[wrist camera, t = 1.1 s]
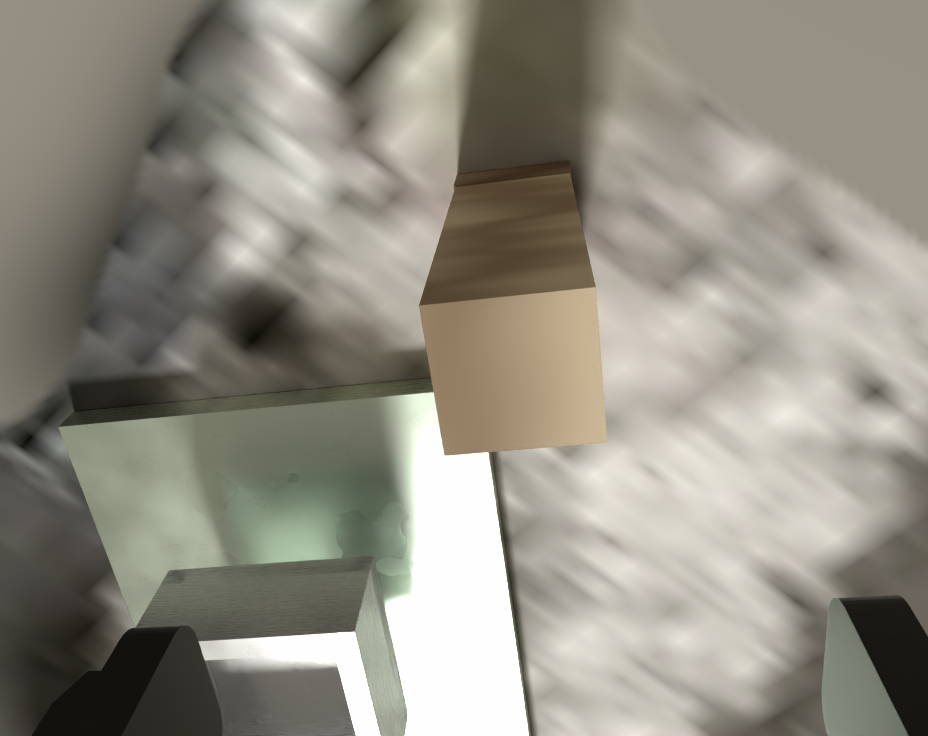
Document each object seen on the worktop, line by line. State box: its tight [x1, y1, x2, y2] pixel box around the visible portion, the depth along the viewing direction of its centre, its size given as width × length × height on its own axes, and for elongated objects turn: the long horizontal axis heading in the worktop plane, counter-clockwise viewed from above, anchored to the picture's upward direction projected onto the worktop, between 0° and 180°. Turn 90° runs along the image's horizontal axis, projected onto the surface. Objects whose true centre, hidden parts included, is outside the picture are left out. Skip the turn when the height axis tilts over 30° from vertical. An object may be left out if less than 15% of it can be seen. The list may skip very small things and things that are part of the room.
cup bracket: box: [59, 378, 531, 736], centre depth 33 cm, size 16×22×8 cm
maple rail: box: [419, 161, 607, 456], centre depth 23 cm, size 4×4×12 cm
